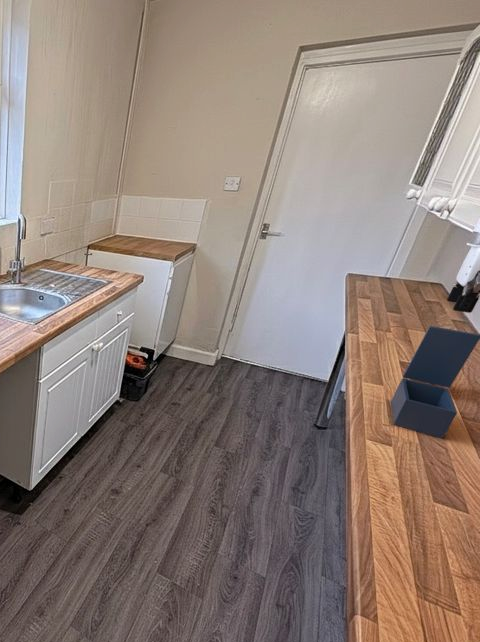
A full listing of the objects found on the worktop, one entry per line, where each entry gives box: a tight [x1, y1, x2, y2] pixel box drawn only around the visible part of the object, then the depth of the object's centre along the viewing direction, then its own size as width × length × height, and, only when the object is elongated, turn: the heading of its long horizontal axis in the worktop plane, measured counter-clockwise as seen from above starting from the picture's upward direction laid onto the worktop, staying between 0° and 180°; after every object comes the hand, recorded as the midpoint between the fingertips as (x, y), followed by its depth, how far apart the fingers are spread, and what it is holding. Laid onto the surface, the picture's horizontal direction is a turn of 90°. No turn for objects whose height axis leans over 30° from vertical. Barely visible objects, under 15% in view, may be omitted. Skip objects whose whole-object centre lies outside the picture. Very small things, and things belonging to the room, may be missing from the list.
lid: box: [402, 325, 480, 389], centre depth 109 cm, size 16×9×1 cm
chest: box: [390, 377, 458, 439], centre depth 109 cm, size 15×9×8 cm, turn 138°
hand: (458, 306), depth 108 cm, fingers open, 9 cm apart
